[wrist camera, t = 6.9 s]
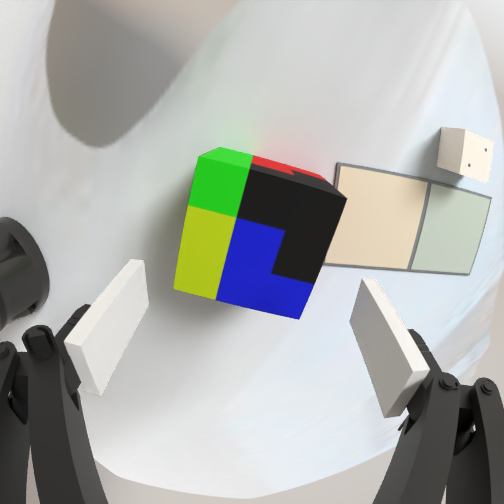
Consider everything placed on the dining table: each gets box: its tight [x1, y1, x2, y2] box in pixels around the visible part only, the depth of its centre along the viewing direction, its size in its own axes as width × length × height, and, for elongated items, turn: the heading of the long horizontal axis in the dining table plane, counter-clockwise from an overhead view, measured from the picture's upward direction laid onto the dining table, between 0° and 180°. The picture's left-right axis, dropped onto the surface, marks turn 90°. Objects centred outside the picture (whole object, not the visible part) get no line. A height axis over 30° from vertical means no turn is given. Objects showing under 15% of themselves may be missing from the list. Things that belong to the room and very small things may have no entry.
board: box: [323, 162, 492, 275], centre depth 29 cm, size 22×11×1 cm, turn 85°
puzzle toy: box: [173, 147, 348, 319], centre depth 25 cm, size 10×10×10 cm
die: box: [436, 127, 494, 183], centre depth 23 cm, size 5×5×5 cm
